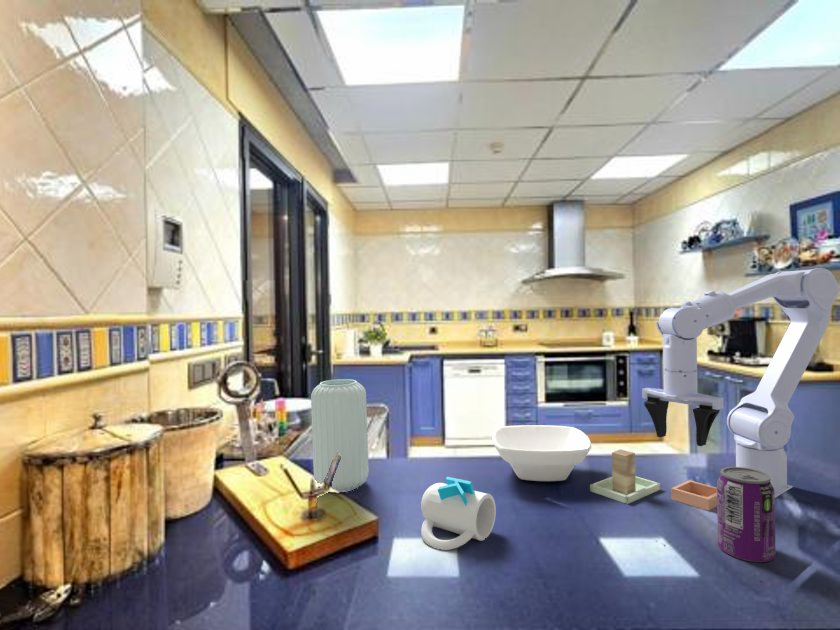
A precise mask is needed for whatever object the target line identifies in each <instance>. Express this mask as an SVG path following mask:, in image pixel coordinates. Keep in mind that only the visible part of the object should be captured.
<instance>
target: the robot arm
mask: <svg viewBox="0 0 840 630" xmlns="http://www.w3.org/2000/svg"><path fill="white" fill-rule="evenodd" d="M839 293H840V287H839V285H838V282H837V280H836V278H835V275H834V274H833V273H832V272H831V271H830V270H829V269H827V268H824V267H815V268H813V269H801V270H798V269H797V270H781V271H777V272H775V273H770V274H767V275H765V276H763V277H761V278H760V279H759V278H758V279H757V280H755V281H753V282H750V283H748V284H745V285H743V286H741V287H739V288H738V289H735V290H733V291H731V292H729V293H726V292H723V291H719V290H718V291H715V290H709V291H706V292H704V296H703V297H700V298H697V299H695V300H692V301H691V300H688V301H683V302H682V303H681V304H682V306H681V307H669V308H667V309H665V310H664V311H662V313H661V314H660V315H659V318H658V321H656V323H655V325H656V328H657V330H658V332H659V333H660V335H661V338H662V351H663V352H662V353H663V355H662V356H663V388H653V387H644V388H642V389H641V395H642V396H641V398H642V399H646V401H644V402H643V405H644V407H645V408H646V410H647V412H648V414H649V415H650V419H651V420H652V423H653V426H654V430H655V433H656V437H658V438H663V437H666V436H667V416H668V414H667V413H668V408H669V404H670V402H672V403H678V404H684V405H690V406H696V408H693V409H692V413H693V417H694V421H695V429H696V431H695V434H696V436H695V437H696V446H698V447H703V446H705V445H707V442H708V441H707V440H708V437H709V434H710V430H711V428H712V425H713V424H714V422H715V419H716V418H717V416H718V414H719V413H720V410H722V409H724V398H723V397H719V396H714V395H709V394H704V393H700V392H698V341H697V339H698V338H699V336H701V334H702V333H703V331H704V330H706V329H708V328H711V327H714V326H716V325H719V324H721V323H723V322H724V323H725V322H726V321H728V320H731V319H733V318H734V316H735V313H736V311H737V310H739V309H741V308H744V307H746V306H749V305H752V304H753V305H754V304H755V303H758V302H761V301H763V300H766V299H769V298H771V299H772V300H774V301H775V302H774V303H776V304H777V306H779V307H780V309H781V310H782V311H783V312H784V313H785V315H786V316H787V317H789V318H788V319H790V323H789V325H788V328H787V330H786V331H785V333H784V335H783V338H782V339H781V340H780V342H779V345H778V346H777V349H776V351H775V353H774V355H773V357H772V359H771V360H770V361H769V364H768V366H767V368H766V369H765V372H764V374H763V375H762V378H761V380H760V381H759V383H758V385H757V387H756V390H755V391H754V392H751V393H749V394H747V395H746V396H743V397H742V398H741V399H740V401H739V403H737V405H736V406H734V407H733V408H732V409H731V410H730V411H729V412H728V415H727V417H726V426H727V428H728V430H729V431H730V433H731V434H732V435H733V440H734V441H735V467H744V468H750V469H755V470H758V471H762V472H764V473H766V474H768V475H769V476H770V477H771V480H770V482H771V484H772V486H773V488H774V490H775V499H776V498H777V497H779V496H780V495H782V494H784V493H785V492H787V491H788V490H791V489H792V488H794V486H793V485H790V484H788V471H787V470H788V468H787V467H788V465H787V464H788V457H787V453H786V452H785V449H784V446H786V444H787V443H788V442H789V440H790V438H791V434H792V424H793V422H794V420H795V418H796V417H795V414H794V413H793V411H792V410H791V408H790V407H789V406H788V405H789V403H790V400H791V399H792V396H793V395H794V393H795V390H796V389H797V386H798V385H799V383H800V381H801V378H802V377H803V375H804V373H805V372H806V369H807V368H808V365H809V364H810V362H811V360H812V358H813V356H814V354H815V352H816V350H817V348H818V347H819V344H820V342H821V341H822V339H823V337H824V335H825V333H826V331H827V329H828V327H829V324H830V322H831V313H832V307H833V304H834V303H835V300H836V299H837V297H838V295H839Z"/></svg>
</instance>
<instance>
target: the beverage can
mask: <svg viewBox="0 0 840 630" xmlns="http://www.w3.org/2000/svg"><path fill="white" fill-rule="evenodd" d="M770 480H771V477H770V476H769V475H768V474H766V473H764V472H762V471H758V470H755V469H750V468H744V467H736V466H727V467H722V468H721V469H720V475H719V477H718V479H717V481H716V488H717V507H716V509H717V512H716V513H717V515H716V516H717V518H716V519H717V523H716V524H717V546H718V548H719V549H720V550H722V552H724V553H726V554H728V555H730V556H732V557H734V558H736V559H739V560H742V561H747V562H748V561H749V562H753V563H754V562H755V563H766V562H771V561H773V560H774V559H775V558H776V506H775V505H776V498H775V490H774V488H773V486H772V484H771V482H770Z"/></svg>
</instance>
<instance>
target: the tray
mask: <svg viewBox="0 0 840 630" xmlns="http://www.w3.org/2000/svg"><path fill="white" fill-rule="evenodd" d="M635 486H636V491H635V492H632V493H630V494H628V495H625V494H622V493H619V492H616V491H613V484H612V476H610V477H607V478H605V479H603V480H600V481H596V482H593V483H590V485H589V492H591V493H595V494H597V495H601V496H603V497H605V498H609V499H612V500H615V501H617V502H620V503H623V504H624V505H630V504H631V503H634V502H636V501H638V500H640V499H642V498H644V497H647V496H649V495H651V494H653V493H656V492H658V491H660V490H661V483H660V482H656V481H653V480H650V479H646V478H643V477H639V476H636V475H635Z"/></svg>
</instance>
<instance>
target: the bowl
mask: <svg viewBox="0 0 840 630" xmlns="http://www.w3.org/2000/svg"><path fill="white" fill-rule="evenodd" d="M491 441H492V443H493V445H494V447H495V449H496V451H497V452H498V453H499V456H500V458H502V459H501V460H503V461H504V462H505V463H509V465H510V466H511V468H512V470H513V472H514V474H515V475H516V476H517V477H518V479H520V480H525V481H533V482H534V481H535V482H557V481H558V482H561V481H566V480H567V478H568V477H569V476H570V474H571V472H572V471H573V469H574V468H575V466H576V465H581V464H582V463H583V461H584V460H585V459H586V457H587V455H588V454H589V452H590V451H591V449H592V441H591V440H590V437H589V436H588V435H587V434H586V433H585V432H583V431H582V430H581V429H578V428H576V427H574V426H565V425H564V426H563V425H547V424H546V425H545V424H544V425H541V424H539V425H537V424H536V425H535V424H534V425H533V424H532V425H531V424H529V425H528V424H527V425H526V424H524V425H523V424H521V425H505V426H499V427H497V428H496V429H495V430H494V431H493V433H492V436H491Z"/></svg>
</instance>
